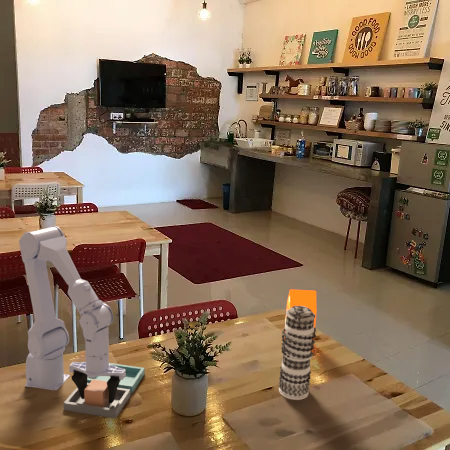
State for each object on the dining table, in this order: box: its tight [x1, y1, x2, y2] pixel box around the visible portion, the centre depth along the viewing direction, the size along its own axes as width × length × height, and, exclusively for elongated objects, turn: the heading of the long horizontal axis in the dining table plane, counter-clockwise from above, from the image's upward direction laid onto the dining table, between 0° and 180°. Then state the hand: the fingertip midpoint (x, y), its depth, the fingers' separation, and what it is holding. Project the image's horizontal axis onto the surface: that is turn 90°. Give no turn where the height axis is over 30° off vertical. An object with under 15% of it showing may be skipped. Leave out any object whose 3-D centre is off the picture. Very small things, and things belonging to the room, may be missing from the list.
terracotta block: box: [84, 379, 109, 407], centre depth 131 cm, size 5×5×5 cm
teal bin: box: [87, 362, 146, 394], centre depth 142 cm, size 14×10×2 cm
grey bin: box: [63, 383, 131, 419], centre depth 131 cm, size 14×10×2 cm
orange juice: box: [284, 289, 318, 353], centre depth 166 cm, size 8×9×20 cm
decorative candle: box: [278, 306, 317, 401], centre depth 139 cm, size 9×9×25 cm
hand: (97, 399), depth 131 cm, fingers open, 7 cm apart
